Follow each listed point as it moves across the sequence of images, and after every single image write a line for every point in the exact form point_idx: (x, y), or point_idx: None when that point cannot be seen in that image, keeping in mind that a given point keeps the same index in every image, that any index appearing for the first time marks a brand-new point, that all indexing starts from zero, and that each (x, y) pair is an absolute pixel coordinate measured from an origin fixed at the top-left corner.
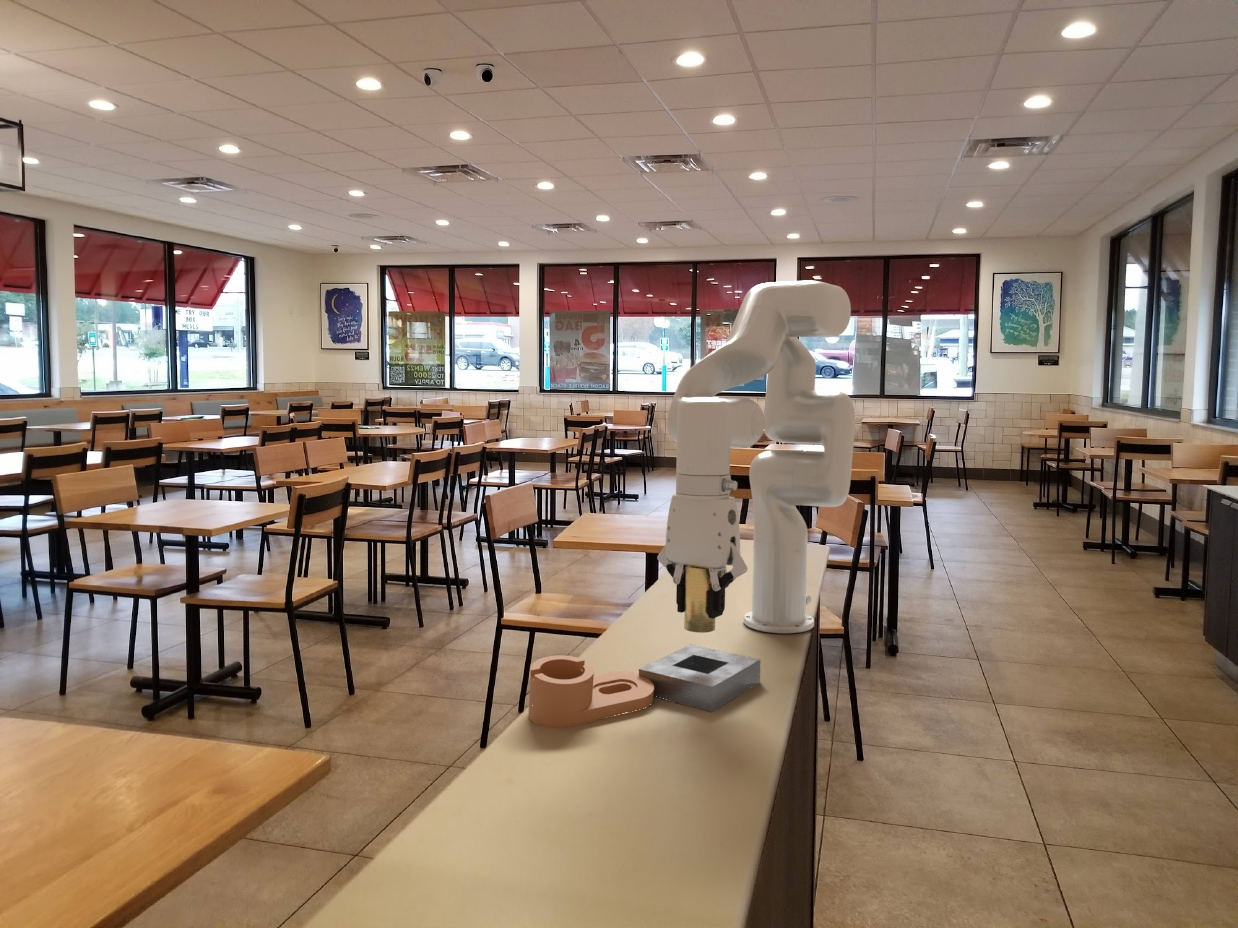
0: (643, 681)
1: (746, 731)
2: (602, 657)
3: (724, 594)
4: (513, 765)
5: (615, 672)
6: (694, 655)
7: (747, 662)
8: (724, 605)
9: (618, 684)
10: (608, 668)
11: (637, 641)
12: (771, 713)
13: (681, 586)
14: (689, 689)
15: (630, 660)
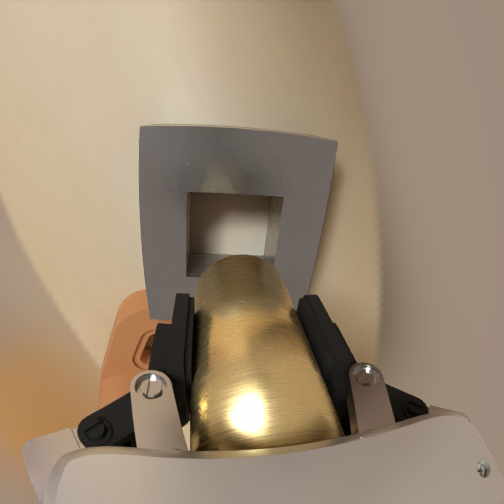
0: (171, 320)
1: (346, 317)
2: (13, 192)
3: (351, 358)
4: (189, 435)
5: (121, 326)
6: (189, 191)
7: (319, 175)
8: (337, 329)
9: (147, 339)
10: (50, 230)
11: (10, 79)
12: (366, 254)
13: (189, 414)
14: None
15: (48, 172)
